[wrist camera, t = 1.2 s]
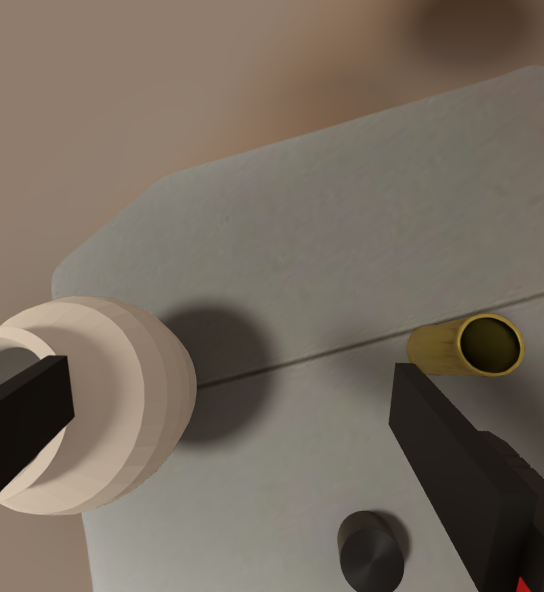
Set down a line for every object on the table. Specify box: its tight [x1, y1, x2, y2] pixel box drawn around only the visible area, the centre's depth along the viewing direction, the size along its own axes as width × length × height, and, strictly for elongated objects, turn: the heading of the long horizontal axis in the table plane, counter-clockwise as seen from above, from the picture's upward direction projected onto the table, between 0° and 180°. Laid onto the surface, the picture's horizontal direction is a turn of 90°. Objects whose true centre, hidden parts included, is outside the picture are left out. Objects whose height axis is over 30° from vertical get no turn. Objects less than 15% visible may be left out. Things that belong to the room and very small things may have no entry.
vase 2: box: [407, 314, 525, 377], centre depth 35 cm, size 6×6×14 cm
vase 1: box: [0, 296, 197, 515], centre depth 33 cm, size 18×18×25 cm
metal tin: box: [338, 511, 404, 592], centre depth 37 cm, size 6×6×4 cm
